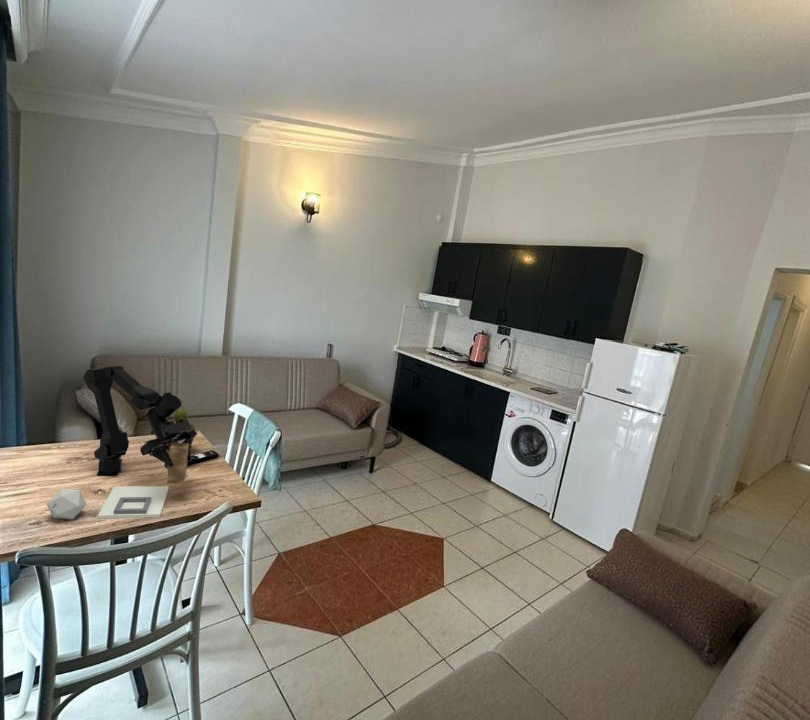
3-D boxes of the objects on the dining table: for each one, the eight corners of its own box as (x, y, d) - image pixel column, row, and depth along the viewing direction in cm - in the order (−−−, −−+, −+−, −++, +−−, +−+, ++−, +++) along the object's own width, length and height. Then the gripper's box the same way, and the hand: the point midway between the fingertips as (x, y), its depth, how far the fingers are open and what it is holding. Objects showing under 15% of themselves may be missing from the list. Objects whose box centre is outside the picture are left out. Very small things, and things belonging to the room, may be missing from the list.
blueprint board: (97, 518, 140) (97, 511, 139) (113, 489, 158) (114, 483, 158) (159, 517, 146) (160, 510, 145) (168, 489, 164) (169, 483, 164)
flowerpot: (189, 461, 189) (193, 415, 186) (149, 458, 187) (153, 410, 184) (199, 449, 203) (204, 405, 200) (163, 445, 201) (166, 401, 198)
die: (48, 513, 139) (36, 498, 132) (78, 492, 145) (68, 477, 138) (65, 531, 137) (54, 516, 130) (95, 509, 143) (86, 494, 136)
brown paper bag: (166, 483, 154) (169, 447, 152) (170, 476, 159) (173, 442, 157) (183, 483, 155) (186, 448, 154) (185, 477, 160) (189, 443, 158)
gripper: (149, 417, 146) (171, 459, 144) (195, 407, 164) (216, 444, 161) (130, 434, 150) (151, 475, 148) (177, 422, 168) (197, 459, 165)
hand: (181, 463), depth 156 cm, fingers closed on brown paper bag, 7 cm apart
